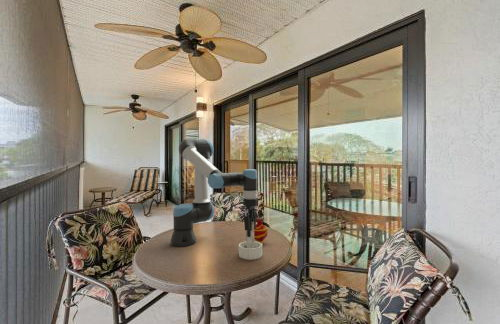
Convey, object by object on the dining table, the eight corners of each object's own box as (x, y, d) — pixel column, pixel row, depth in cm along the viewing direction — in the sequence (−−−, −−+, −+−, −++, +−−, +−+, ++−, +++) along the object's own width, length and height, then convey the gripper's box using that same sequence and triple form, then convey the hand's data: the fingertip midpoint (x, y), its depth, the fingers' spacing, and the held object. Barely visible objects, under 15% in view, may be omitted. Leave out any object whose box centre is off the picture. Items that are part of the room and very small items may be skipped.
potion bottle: (266, 245, 151) (266, 220, 151) (249, 244, 154) (249, 220, 153) (268, 240, 162) (268, 216, 161) (252, 239, 164) (252, 216, 164)
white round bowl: (234, 257, 134) (234, 246, 134) (244, 249, 145) (244, 239, 145) (256, 261, 129) (256, 250, 129) (265, 252, 140) (265, 242, 140)
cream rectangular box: (246, 242, 137) (246, 221, 137) (247, 241, 139) (247, 221, 139) (252, 243, 135) (252, 222, 135) (253, 242, 137) (253, 221, 137)
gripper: (251, 200, 128) (251, 247, 129) (261, 196, 142) (262, 238, 142) (237, 199, 131) (238, 245, 132) (249, 195, 145) (249, 236, 145)
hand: (250, 241), depth 137 cm, fingers closed on cream rectangular box, 2 cm apart
